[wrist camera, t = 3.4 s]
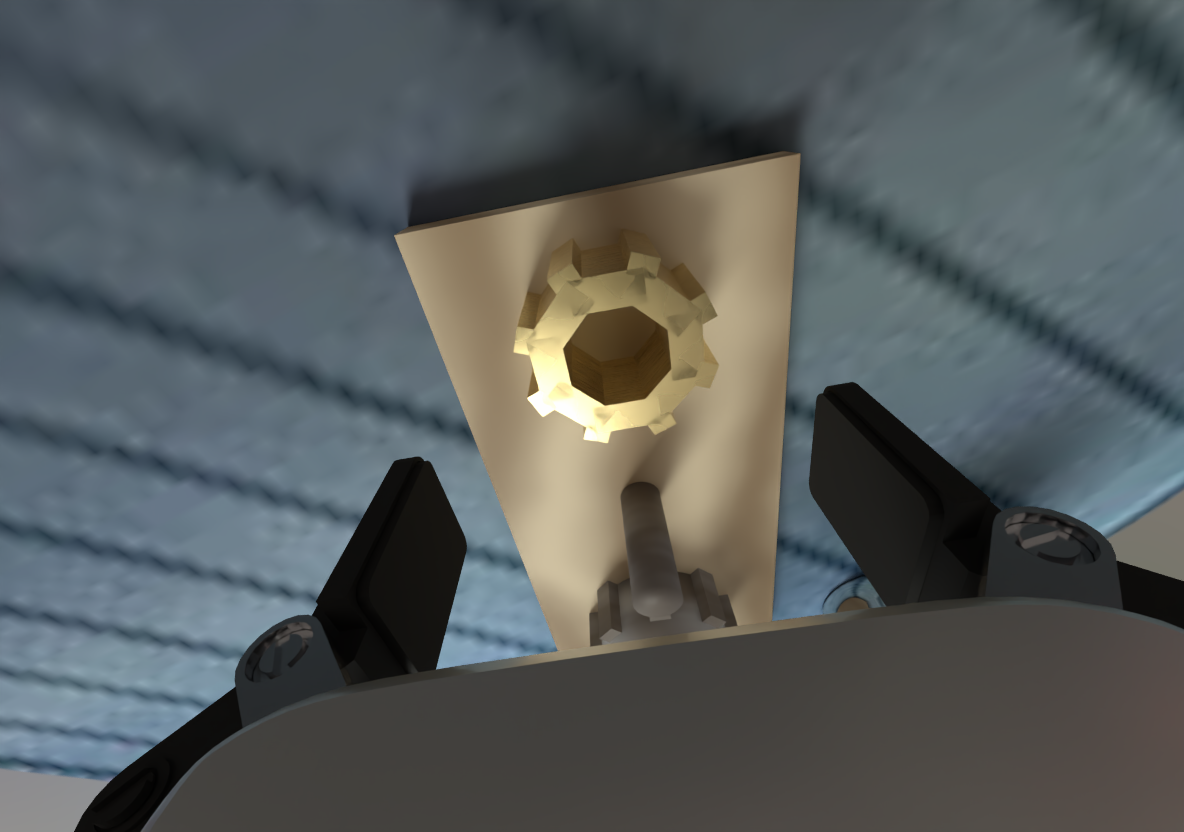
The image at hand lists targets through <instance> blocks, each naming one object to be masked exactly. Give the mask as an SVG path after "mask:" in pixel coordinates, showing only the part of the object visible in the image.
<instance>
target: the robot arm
mask: <svg viewBox="0 0 1184 832" xmlns="http://www.w3.org/2000/svg"><path fill="white" fill-rule="evenodd" d="M809 487H810V491H811V494H812V496H813V498H814V500H815V501H816V503H817V504H818V506H819V507H820V509H821V510H822V512H823V513H824V515H825V516H826V518H827V519H828V520H829V522H830V523H831V525H832V526H833V528H834V529H835V531H836V532H837V534H838V535H839V537H840V538H841V540H842V541H843V543H844V544H845V546H846V547H847V549H848V550H849V552H850V553H851V555H852V556H853V558H854V559H855V561H856V562H857V564H858V565H859V567H860V568H861V570H862V571H863V573H864V574H865V576H866V577H867V579H868V580H869V582H870V583H871V585H872V586H873V588H874V589H875V591H876V592H877V593H878V595H879V596H880V598H881V599H882V601H883V602H884V604H885V605H886V607H878V608H869V609H861V610H852V611H845V612H837V613H830V614H823V615H815V616H808V617H801V618H793V619H786V620H778V621H771V622H764V623H756V624H749V625H741V626H734V627H727V628H719V629H712V630H705V631H698V632H691V633H684V634H677V635H670V636H662V637H655V638H648V639H641V640H634V641H627V642H620V643H613V644H606V645H599V646H592V647H585V648H578V649H571V650H564V651H557V652H550V653H543V654H537V655H530V656H523V657H516V658H509V659H503V660H496V661H489V662H482V663H475V664H468V665H462V666H455V667H449V668H443V669H437V670H436V667H437V663H438V659H439V655H440V651H441V647H442V643H443V640H444V636H445V632H446V628H447V624H448V620H449V616H450V613H451V609H452V605H453V601H454V597H455V593H456V589H457V585H458V582H459V578H460V574H461V570H462V566H463V562H464V558H465V555H466V550H467V545H466V539H465V536H464V534H463V531H462V529H461V527H460V525H459V523H458V521H457V518H456V516H455V514H454V512H453V510H452V507H451V505H450V503H449V501H448V499H447V497H446V494H445V492H444V490H443V488H442V486H441V483H440V481H439V479H438V477H437V475H436V472H435V470H434V468H433V466H432V464H431V463H430V462H429V461H424V460H423V459H422V458H421V457H412V458H406V459H400V460H396V461H394V463H393V464H392V466H391V467H390V469H389V471H388V473H387V475H386V476H385V478H384V480H383V482H382V484H381V485H380V487H379V489H378V491H377V493H376V494H375V496H374V498H373V500H372V502H371V503H370V505H369V507H368V509H367V511H366V512H365V514H364V516H363V518H362V520H361V521H360V523H359V525H358V527H357V529H356V530H355V532H354V534H353V536H352V538H351V539H350V541H349V543H348V545H347V547H346V548H345V550H344V552H343V554H342V556H341V557H340V559H339V561H338V563H337V565H336V566H335V568H334V570H333V572H332V574H331V575H330V577H329V579H328V581H327V583H326V584H325V586H324V588H323V590H322V592H321V593H320V595H319V597H318V599H317V600H316V603H317V604H318V605H317V607H316V609H315V611H314V613H313V614H312V616H310V615H298V616H294V617H291V618H288V619H285V620H283V621H282V622H280V623H278V624H276V625H274V626H272V627H271V628H270V629H268V630H267V631H266V632H264V633H263V634H262V635H260V636H259V637H258V638H257V639H256V640H255V641H254V642H253V643H252V644H251V645H250V646H249V648H248V649H247V650H246V652H245V653H244V655H243V656H242V657H241V659H240V661H239V664H238V666H237V668H236V671H235V685H236V687H235V688H233V689H232V690H231V691H229V692H228V693H226V694H225V695H224V696H222V697H221V698H220V699H218V700H217V701H216V702H214V703H213V704H212V705H210V706H209V707H208V708H206V709H205V710H203V711H202V712H201V713H199V714H198V715H197V716H195V717H194V718H193V719H191V720H190V721H189V722H187V723H186V724H185V725H183V726H182V727H180V728H179V729H178V730H176V731H175V732H174V733H172V734H171V735H170V736H168V737H167V738H166V739H164V740H163V741H162V742H160V743H159V744H157V745H156V746H155V747H153V748H152V749H151V750H149V751H148V752H147V753H145V754H144V755H143V756H141V757H140V758H139V759H137V760H136V761H135V762H133V763H132V764H130V765H129V766H128V767H127V768H125V769H124V770H123V771H122V772H121V773H119V774H118V775H117V776H116V777H115V778H113V779H112V780H111V781H110V782H109V783H108V784H107V786H106V787H105V788H104V789H103V790H102V791H101V792H100V793H99V794H98V795H97V796H96V797H95V799H94V800H93V801H92V803H91V804H90V805H89V807H88V808H87V809H86V811H85V812H84V814H83V815H82V817H81V819H80V821H79V823H78V825H77V827H76V829H75V831H74V832H1184V581H1181V580H1178V579H1175V578H1171V577H1168V576H1165V575H1162V574H1158V573H1155V572H1152V571H1149V570H1145V569H1142V568H1139V567H1136V566H1132V565H1129V564H1126V563H1123V562H1119V561H1116V555H1115V552H1114V550H1113V548H1112V546H1111V544H1110V543H1109V541H1108V540H1107V539H1106V538H1105V537H1104V536H1103V535H1102V534H1101V533H1100V532H1098V531H1097V530H1095V529H1094V528H1092V527H1091V526H1089V525H1088V524H1086V523H1084V522H1082V521H1080V520H1078V519H1076V518H1074V517H1071V516H1069V515H1066V514H1063V513H1060V512H1057V511H1054V510H1050V509H1044V508H1038V507H1013V508H1008V509H1004V510H1003V511H1001V510H1000V509H998V508H997V507H996V506H995V505H994V504H993V503H991V502H990V498H989V497H988V496H987V495H986V494H984V493H983V492H982V491H981V490H980V489H979V488H977V487H976V486H975V485H974V484H973V483H972V482H970V481H969V480H968V479H967V478H966V477H965V476H963V475H962V474H961V473H960V472H959V471H958V470H957V469H955V468H954V467H953V466H952V465H951V464H950V463H948V462H947V461H946V460H945V459H944V458H943V457H941V456H940V455H939V454H938V453H937V452H936V451H934V450H933V449H932V448H931V447H930V446H929V445H927V444H926V443H925V442H924V441H923V440H922V439H920V438H919V437H918V436H917V435H916V434H915V433H913V432H912V431H911V430H910V429H909V428H908V427H907V426H905V425H904V424H903V423H902V422H901V421H900V420H898V419H897V418H896V417H895V416H894V415H893V414H891V413H890V412H889V411H888V410H887V409H886V408H884V407H883V406H882V405H881V404H880V403H879V402H877V401H876V400H875V399H874V398H873V397H872V396H870V395H869V394H868V393H867V392H866V391H865V390H863V389H862V388H861V387H860V386H859V385H858V384H856V383H854V382H850V383H844V384H838V385H832V386H827V387H826V388H825V390H824V392H823V393H822V394H819V395H818V396H817V400H816V410H815V421H814V432H813V443H812V454H811V465H810V477H809Z"/></svg>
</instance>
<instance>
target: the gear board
mask: <svg viewBox="0 0 1184 832" xmlns="http://www.w3.org/2000/svg"><path fill="white" fill-rule="evenodd" d="M800 154H801V153H793V152H786V151H781V152H776V153H771V154H766V155H761V156H756V157H751V158H746V159H742V160H737V161H732V162H727V163H722V164H717V165H712V166H707V167H702V168H697V169H692V170H687V171H682V172H677V173H672V174H667V175H663V176H658V177H653V178H648V179H643V180H638V181H633V182H628V183H623V184H618V185H613V186H608V187H603V188H598V189H593V190H589V191H584V192H579V193H574V194H569V195H564V196H559V197H554V198H549V199H544V200H539V201H534V202H529V203H524V204H519V205H514V206H510V207H505V208H500V209H495V210H490V211H485V212H480V213H475V214H470V215H465V216H460V217H455V218H450V219H445V220H440V221H436V222H431V223H426V224H421V225H416V226H411V227H407V228H405V229H404V230H402V231H401V232H399V233H397V234H396V235H394V236H395V239H396V241H397V244H398V246H399V249H400V251H401V254H402V256H403V259H404V261H405V264H406V266H407V269H408V272H409V274H410V277H411V279H412V282H413V284H414V287H415V289H416V292H417V294H418V297H419V299H420V302H421V304H422V307H423V310H424V312H425V315H426V317H427V320H428V322H429V325H430V327H431V330H432V332H433V335H434V337H435V340H436V342H437V345H438V348H439V350H440V353H441V355H442V358H443V360H444V363H445V365H446V368H447V370H448V373H449V375H450V378H451V380H452V383H453V386H454V388H455V391H456V393H457V396H458V398H459V401H460V403H461V406H462V408H463V411H464V413H465V416H466V418H467V421H468V424H469V426H470V429H471V431H472V434H473V436H474V439H475V441H476V444H477V446H478V449H479V451H480V454H481V456H482V459H483V462H484V464H485V467H486V469H487V472H488V474H489V477H490V479H491V482H492V484H493V487H494V489H495V492H496V495H497V497H498V500H499V502H500V505H501V507H502V510H503V512H504V515H505V517H506V520H507V522H508V525H509V527H510V530H511V533H512V535H513V538H514V540H515V543H516V545H517V548H518V550H519V553H520V555H521V558H522V560H523V563H524V565H525V568H526V571H527V573H528V576H529V578H530V581H531V583H532V586H533V588H534V591H535V593H536V596H537V598H538V601H539V603H540V606H541V609H542V611H543V614H544V616H545V619H546V621H547V624H548V626H549V629H550V631H551V634H552V636H553V639H554V641H555V644H556V647H557V649H558V651H564V650H571V649H578V648H585V647H592V646H599V645H606V644H613V643H620V642H627V641H634V640H641V639H648V638H655V637H662V636H670V635H677V634H684V633H691V632H698V631H705V630H712V629H719V628H727V627H734V626H741V625H749V624H756V623H764V622H771V621H772V611H773V595H774V579H775V562H776V546H777V530H778V513H779V497H780V480H781V464H782V448H783V431H784V415H785V399H786V382H787V366H788V350H789V333H790V317H791V301H792V284H793V268H794V252H795V235H796V219H797V203H798V186H799V170H800ZM621 228H623V229H627V230H631V231H636V232H640V233H644V234H646V235H647V236H648V238H649V240H650V241H651V243H652V244H653V246H654V248H655V249H656V251H657V252H658V254H659V256H660V257H661V261H660V263H661V264H663V265H664V266H665V267H667V268H668V269H669V270H672V269H673V268H675V267H676V266H678V265H680V264H681V263H684V264H685V266H686V267H687V268H688V270H689V271H690V272H691V273H692V275H693V276H694V277H695V279H696V280H697V281H698V283H699V284H700V285H701V287H702V288H703V289H704V290H705V292H706V294H707V296H708V297H709V299H710V301H711V303H712V305H713V307H714V309H715V311H716V313H717V315H718V316H717V317H715V318H713V319H712V320H710V321H708V322H706V323H705V324H703V338H704V340H705V342H706V344H707V345H708V347H709V349H710V350H711V352H712V354H713V355H714V357H715V359H716V360H717V362H718V364H719V368H718V370H717V372H716V375H715V377H714V380H713V382H712V385H711V387H710V388H704V387H699V386H695V387H694V388H693V389H692V390H691V391H690V392H689V393H688V395H687V396H686V397H685V398H684V399H683V400H682V401H681V402H680V403H679V404H678V405H677V407H676V408H675V409H674V410H673V414H674V417H675V420H676V423H677V424H675V425H673V426H671V427H670V428H668V429H666V430H664V431H662V432H660V433H658V434H656V435H654V433H653V432H652V430H651V429H650V428H649V426H648V425H646V426H640V427H634V428H628V429H622V430H616V431H611V433H610V436H609V440H608V443H606V442H600V441H593V440H587V439H584V432H583V425H582V424H580V423H578V422H576V421H575V420H573V419H571V418H569V417H567V416H566V415H564V414H562V413H560V412H558V411H557V410H553V411H551V412H550V413H548V414H546V415H545V416H542V415H541V414H540V413H539V412H538V410H537V409H536V408H535V407H534V406H533V405H532V403H531V402H530V401H529V400H528V399H527V397H528V391H529V385H530V380H531V374H532V369H533V365H532V362H531V358H530V355H525V354H519V353H514V345H515V338H516V331H517V325H518V322H519V318H520V315H521V311H522V308H523V304H524V301H525V298H526V294H527V292H531V293H536V294H542V292H543V291H544V289H545V288H546V286H547V284H548V282H547V276H548V270H549V265H550V260H551V254H552V252H553V251H554V250H556V249H557V248H559V247H560V246H561V245H563V244H564V243H566V242H567V241H569V240H570V239H572V238H573V239H574V241H575V242H576V244H577V245H578V247H579V249H580V250H587V249H592V248H597V247H602V246H607V245H612V244H618V240H619V236H620V232H621ZM655 330H656V324H655V321H654V320H653V319H651V318H650V317H648V316H647V315H646V314H644V313H643V312H641V311H640V310H638V309H637V308H635V307H634V306H628V307H622V308H617V309H611V310H606V311H600V312H595V313H589V314H587V315H586V317H585V318H584V319H583V321H582V322H581V324H580V325H579V326H578V328H577V329H576V331H575V332H574V334H573V335H572V336H571V340H572V344H573V345H575V346H576V347H578V348H579V349H581V350H583V351H584V352H586V353H587V354H589V355H591V356H592V357H594V358H596V359H597V360H599V361H600V362H602V361H608V360H614V359H619V358H625V357H631V356H635V355H636V353H637V352H638V351H639V350H640V348H641V347H642V346H643V345H644V343H645V342H646V341H647V340H648V338H649V337H650V336H651V335H652V333H653V332H654V331H655Z"/></svg>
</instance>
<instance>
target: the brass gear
mask: <svg viewBox="0 0 1184 832" xmlns="http://www.w3.org/2000/svg"><path fill="white" fill-rule="evenodd" d="M660 261H661V257H660V256H659V254H658V252H657V251H656V249H655V248H654V246H653V244H652V243H651V241H650V240H649V238H648V236H647V235H646V234H644V233H640V232H636V231H631V230H627V229H623V228H621V232H620V236H619V240H618V244H612V245H607V246H602V247H597V248H592V249H587V250H580V249H579V247H578V245H577V244H576V242H575V241H574V239H573V238H572V239H570V240H569V241H567V242H566V243H564V244H563V245H561V246H560V247H559V248H557V249H556V250H554V251H553V252H552V254H551V260H550V265H549V270H548V276H547V282H548V284H547V286H546V288H545V289H544V291H543V292H542V294H536V293H531V292H527V294H526V298H525V301H524V304H523V308H522V311H521V315H520V318H519V322H518V325H517V331H516V338H515V345H514V353H519V354H525V355H530V358H531V362H532V365H533V369H532V374H531V380H530V385H529V391H528V397H527V399H528V400H529V401H530V402H531V403H532V405H533V406H534V407H535V408H536V409H537V410H538V412H539V413H540V414H541V415H542V416H545V415H546V414H548V413H550V412H551V411H553V410H557V411H558V412H560V413H562V414H564V415H566V416H567V417H569V418H571V419H573V420H575V421H576V422H578V423H580V424H582V425H583V432H584V439H587V440H593V441H600V442H606V443H608V440H609V436H610V433H611V431H616V430H622V429H628V428H634V427H640V426H646V425H648V426H649V428H650V429H651V430H652V432H653V433H654V435H656V434H658V433H660V432H662V431H664V430H666V429H668V428H670V427H671V426H673V425H675V424H677V423H676V420H675V417H674V414H673V410H674V409H675V408H676V407H677V405H678V404H679V403H680V402H681V401H682V400H683V399H684V398H685V397H686V396H687V395H688V393H689V392H690V391H691V390H692V389H693V388H694V387H695V386H699V387H704V388H710V387H711V385H712V382H713V380H714V377H715V375H716V372H717V370H718V368H719V364H718V362H717V360H716V359H715V357H714V355H713V354H712V352H711V350H710V349H709V347H708V345H707V344H706V342H705V340H704V338H703V324H705V323H706V322H708V321H710V320H712V319H713V318H715V317H717V316H718V315H717V313H716V311H715V309H714V307H713V305H712V303H711V301H710V299H709V297H708V296H707V294H706V292H705V290H704V289H703V288H702V287H701V285H700V284H699V283H698V281H697V280H696V279H695V277H694V276H693V275H692V273H691V272H690V271H689V270H688V268H687V267H686V266H685V264H684V263H681V264H680V265H678V266H676V267H675V268H673V269H672V270H669V269H668V268H667V267H665V266H664V265H663V264H661V263H660ZM628 306H634V307H635V308H637V309H638V310H640V311H641V312H643V313H644V314H646V315H647V316H648V317H650V318H651V319H653V320H654V321H655V324H656V330H655V331H654V332H653V333H652V335H651V336H650V337H649V338H648V340H647V341H646V342H645V343H644V345H643V346H642V347H641V348H640V350H639V351H638V352H637V353H636V355H635V356H631V357H625V358H619V359H614V360H608V361H602V362H600V361H599V360H597V359H596V358H594V357H592V356H591V355H589V354H587V353H586V352H584V351H583V350H581V349H579V348H578V347H576V346H575V345H573V344H572V340H571V336H572V335H573V334H574V332H575V331H576V329H577V328H578V326H579V325H580V324H581V322H582V321H583V319H584V318H585V317H586V315H587V314H589V313H595V312H600V311H606V310H611V309H617V308H622V307H628Z"/></svg>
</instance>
